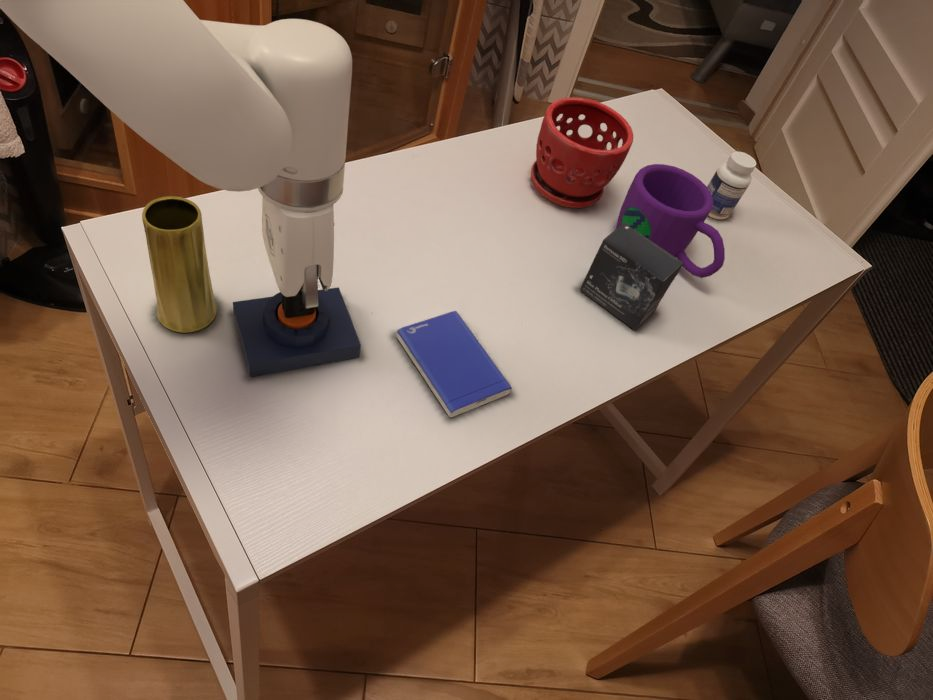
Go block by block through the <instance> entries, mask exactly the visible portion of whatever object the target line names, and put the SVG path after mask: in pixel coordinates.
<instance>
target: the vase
mask: <svg viewBox="0 0 933 700" xmlns="http://www.w3.org/2000/svg"><path fill="white" fill-rule="evenodd" d="M202 216H203V215H202V211H201V209H200V208H199V206H198V205H197V203H195V201H192V200H190V199H188V198H185V197H182V196H175V195H174V196H173V195H168V196H167V195H166V196H162V197H161V196H160V197H158V198H155V199H152V200H150V201H149V202H148V203H147V204H146V205H145V206H144V207H143V210H142V213H141V220H142V224H143V227H144V228H143V229H144V234H145V239H146V245H147V251H148V257H149V264H150V269H151V274H152V280H153V287H154V293H155V298H156V305H157V309H156V315H157V319H158V321H159V322H160V323H161V325H163V326H164V327H165V328H166V329H168V330H170V331H173V332H177V333H183V334H185V333H186V334H187V333H192V332H198V331H200V330H203V329H205V328H206V327H208V326H209V325H211V324H212V322H213V321H214V320H215V318H216V316H217V304H216V301H215V297H214V296H215V295H214V291H213V290H214V289H213V284H212V278H211V273H210V267H209V261H208V255H207V248H206V242H205V232H204V226H203V217H202Z"/></svg>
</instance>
